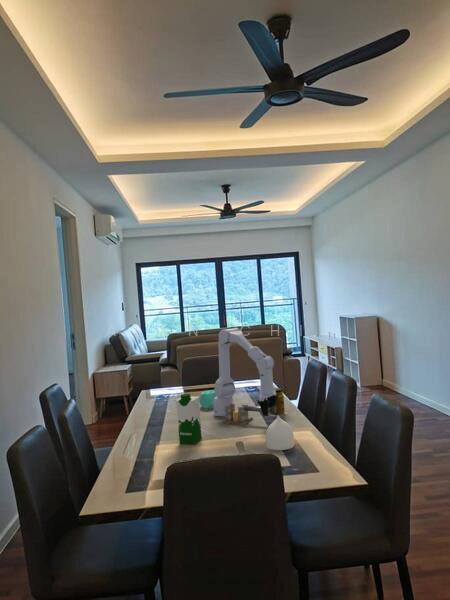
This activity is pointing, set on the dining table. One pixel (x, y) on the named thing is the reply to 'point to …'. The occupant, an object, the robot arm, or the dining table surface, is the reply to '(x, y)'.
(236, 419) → the block
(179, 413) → the milk carton
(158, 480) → the dining table surface
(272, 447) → the teardrop
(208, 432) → the dining table surface
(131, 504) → the dining table surface
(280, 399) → the condiment
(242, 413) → the bearing stand
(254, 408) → the shaft
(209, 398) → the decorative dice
